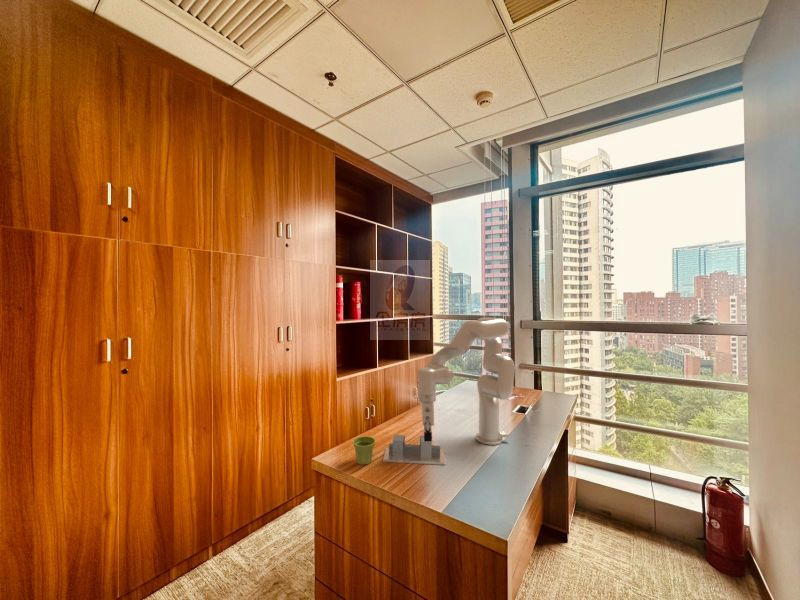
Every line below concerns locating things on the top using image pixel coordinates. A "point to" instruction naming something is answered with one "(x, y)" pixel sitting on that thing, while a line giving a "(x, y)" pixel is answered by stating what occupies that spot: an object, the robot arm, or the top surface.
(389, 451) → the rail
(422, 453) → the grey block
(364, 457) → the plant pot
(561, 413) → the top surface
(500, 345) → the robot arm
